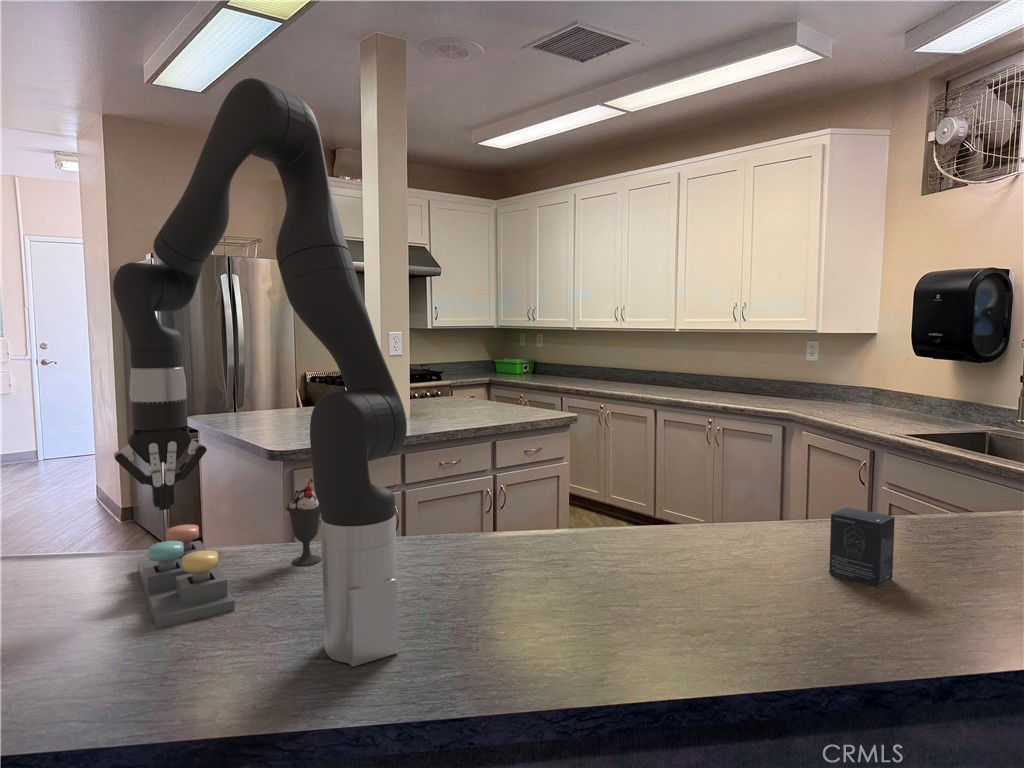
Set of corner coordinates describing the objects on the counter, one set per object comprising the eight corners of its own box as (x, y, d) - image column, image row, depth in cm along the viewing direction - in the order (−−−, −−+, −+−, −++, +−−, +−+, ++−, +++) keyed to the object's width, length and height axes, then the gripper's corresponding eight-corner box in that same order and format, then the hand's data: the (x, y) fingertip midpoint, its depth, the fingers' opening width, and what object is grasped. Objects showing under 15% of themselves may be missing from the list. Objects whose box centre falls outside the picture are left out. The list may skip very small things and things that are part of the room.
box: (892, 579, 106) (895, 516, 105) (878, 588, 102) (881, 522, 101) (843, 566, 112) (845, 505, 111) (827, 574, 108) (830, 511, 107)
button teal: (186, 572, 101) (185, 547, 100) (151, 579, 98) (150, 553, 98) (181, 563, 105) (180, 538, 104) (147, 570, 102) (146, 544, 102)
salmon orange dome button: (202, 553, 109) (200, 529, 109) (169, 559, 107) (168, 535, 106) (196, 545, 113) (195, 522, 113) (165, 551, 110) (164, 527, 110)
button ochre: (221, 584, 96) (220, 557, 96) (186, 591, 93) (184, 564, 93) (215, 574, 100) (214, 548, 100) (180, 581, 97) (179, 554, 97)
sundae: (320, 568, 112) (317, 482, 110) (281, 567, 112) (278, 481, 110) (331, 554, 118) (329, 473, 117) (294, 554, 118) (292, 473, 117)
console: (234, 610, 95) (233, 583, 95) (157, 628, 89) (155, 600, 89) (201, 558, 116) (200, 536, 116) (137, 570, 111) (136, 547, 110)
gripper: (109, 402, 92) (115, 522, 94) (210, 396, 100) (215, 507, 101) (106, 397, 98) (112, 509, 100) (201, 392, 106) (206, 497, 107)
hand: (164, 508), depth 101 cm, fingers closed
